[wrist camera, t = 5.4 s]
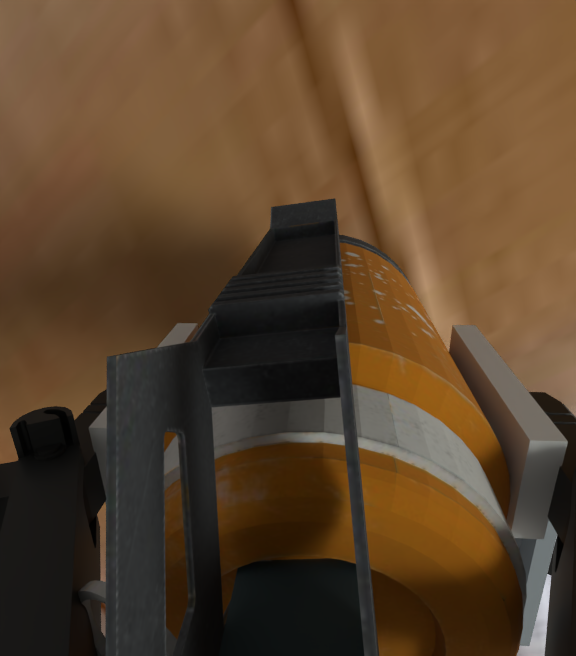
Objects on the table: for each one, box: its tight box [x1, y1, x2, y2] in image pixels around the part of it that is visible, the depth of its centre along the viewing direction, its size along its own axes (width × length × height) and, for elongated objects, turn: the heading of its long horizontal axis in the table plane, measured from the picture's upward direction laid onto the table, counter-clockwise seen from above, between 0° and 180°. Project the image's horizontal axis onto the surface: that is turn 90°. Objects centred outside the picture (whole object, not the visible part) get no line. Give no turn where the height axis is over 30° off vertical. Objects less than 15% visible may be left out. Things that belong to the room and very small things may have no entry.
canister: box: [78, 199, 527, 656], centre depth 13 cm, size 9×11×20 cm
